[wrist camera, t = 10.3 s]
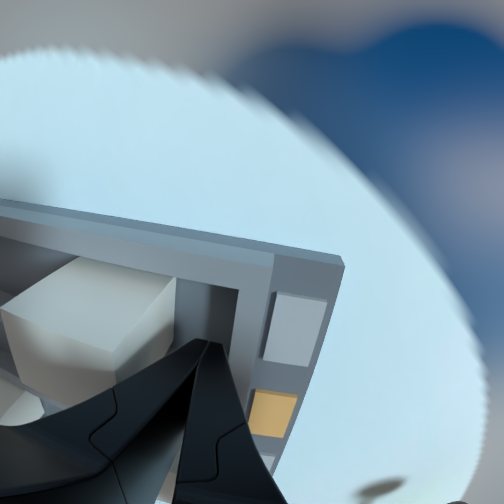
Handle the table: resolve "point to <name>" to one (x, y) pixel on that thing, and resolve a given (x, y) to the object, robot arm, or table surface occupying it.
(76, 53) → the table surface
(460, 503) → the toy figure
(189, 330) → the switch bank
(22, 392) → the tab
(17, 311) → the tab
